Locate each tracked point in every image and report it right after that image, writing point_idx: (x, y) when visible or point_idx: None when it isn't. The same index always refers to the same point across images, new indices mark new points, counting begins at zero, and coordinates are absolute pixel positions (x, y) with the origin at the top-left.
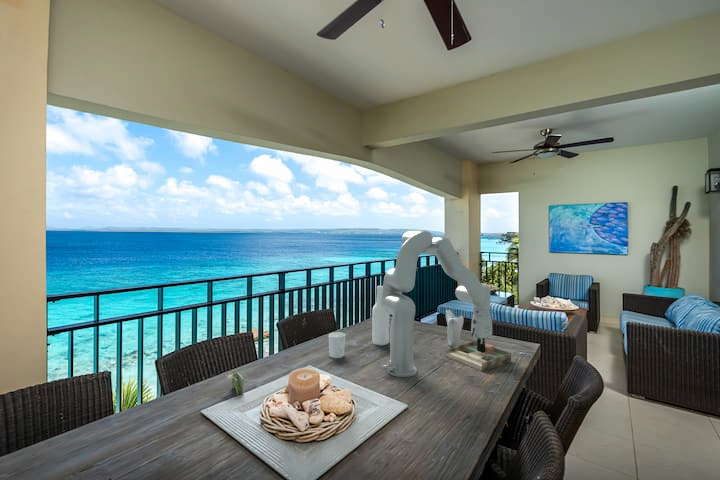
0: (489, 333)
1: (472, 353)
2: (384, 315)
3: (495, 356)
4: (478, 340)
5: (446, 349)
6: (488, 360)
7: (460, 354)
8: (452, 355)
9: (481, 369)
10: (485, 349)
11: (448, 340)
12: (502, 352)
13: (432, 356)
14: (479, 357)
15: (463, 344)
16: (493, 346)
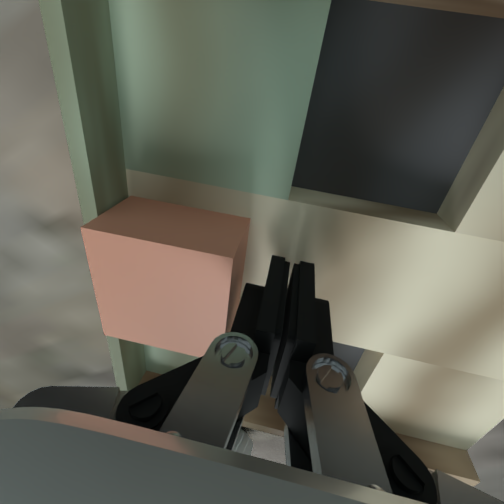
0: None
1: (343, 328)
2: None
3: (246, 120)
4: (425, 471)
5: (476, 482)
6: (320, 169)
7: (446, 385)
8: (499, 416)
9: None
10: (237, 271)
11: None
12: (96, 80)
13: (493, 465)
14: (424, 246)
15: (253, 427)
16: (105, 229)
